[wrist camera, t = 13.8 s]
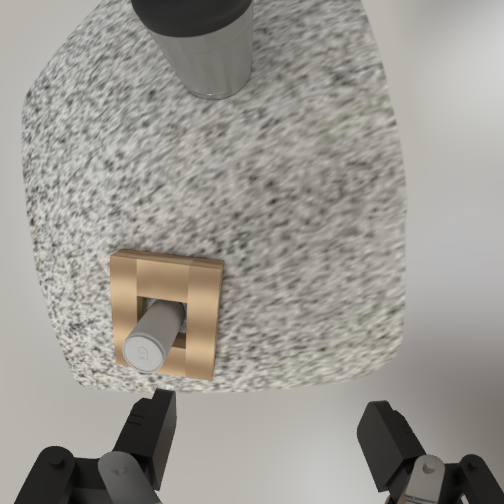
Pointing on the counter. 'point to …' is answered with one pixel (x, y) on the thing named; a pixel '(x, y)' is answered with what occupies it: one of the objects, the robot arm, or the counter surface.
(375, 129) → the counter surface
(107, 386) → the counter surface
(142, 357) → the beverage can
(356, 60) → the counter surface
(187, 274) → the socket
